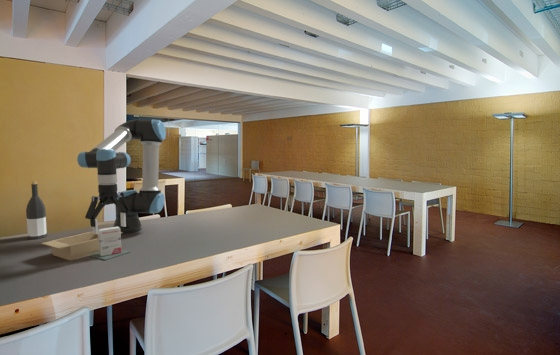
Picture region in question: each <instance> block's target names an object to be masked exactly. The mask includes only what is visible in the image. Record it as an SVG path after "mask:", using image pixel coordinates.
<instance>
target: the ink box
mask: <svg viewBox="0 0 560 355" xmlns="http://www.w3.org/2000/svg"><path fill="white" fill-rule="evenodd" d="M121 234H122V233H121V230H120V228H119V227H118V226H116V227H113V226H111V227H110V226H109V227H101V228H98V243H99V252H98V253H99V254H100V256H106V255H111V254H116V253H121V250H122V235H121Z"/></svg>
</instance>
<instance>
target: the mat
mask: <svg viewBox="0 0 560 355" xmlns="http://www.w3.org/2000/svg"><path fill="white" fill-rule="evenodd" d="M129 253H131V252H130V251H129V250H124V249H121V253H116V254H111V255H106V256H100V254H99V252H98V253H95V254H91V255H89V256H90V257H93V258H97V259H99V260H101V261H109V260H111V259H113V258H114V259H115V258H118V257H120V256H123V255H127V254H129Z"/></svg>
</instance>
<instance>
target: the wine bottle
mask: <svg viewBox="0 0 560 355" xmlns="http://www.w3.org/2000/svg"><path fill="white" fill-rule="evenodd" d="M30 187H31V197H30V198H29V200H28V202H27V204H26V209H25V213H26V214H25V215H26V231H27V238H28V239H29V240H40V239H44V238H46V237H47V214H46V206H45V203H44V201H43V200H42V199H41V197H40V196H39V190H38V188H39V187H38V181H36V180H33V181H31V186H30Z"/></svg>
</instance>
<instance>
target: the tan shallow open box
mask: <svg viewBox="0 0 560 355" xmlns="http://www.w3.org/2000/svg"><path fill="white" fill-rule="evenodd" d="M121 234H124V233H123V232H121ZM41 245H44V246H48V247H51V255H52V256H54V257H58V258H61V259H64V260H67V261H74V260H77V259H80V258H84V257H87V256H90V255H92V254H95V253H99V243H98V234H93V230H92V231H88V232H82V233H79V234H78V233H77V234H75V235H70V236H64V237H61V238H58V239H53V240H49V241H45V242H41Z"/></svg>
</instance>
